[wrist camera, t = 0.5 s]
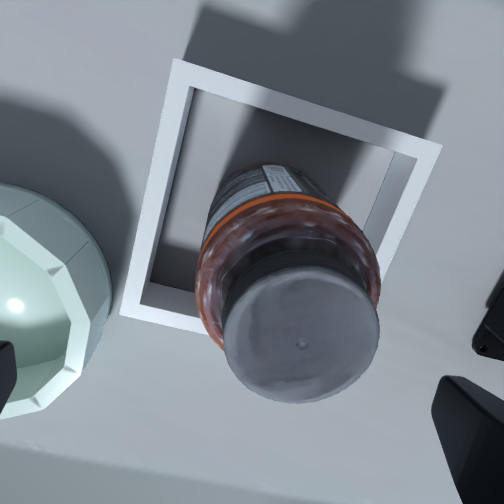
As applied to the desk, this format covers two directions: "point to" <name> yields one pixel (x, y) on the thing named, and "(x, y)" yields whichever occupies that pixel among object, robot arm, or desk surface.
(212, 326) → the supplement bottle
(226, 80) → the tray
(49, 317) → the bowl
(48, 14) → the desk surface
